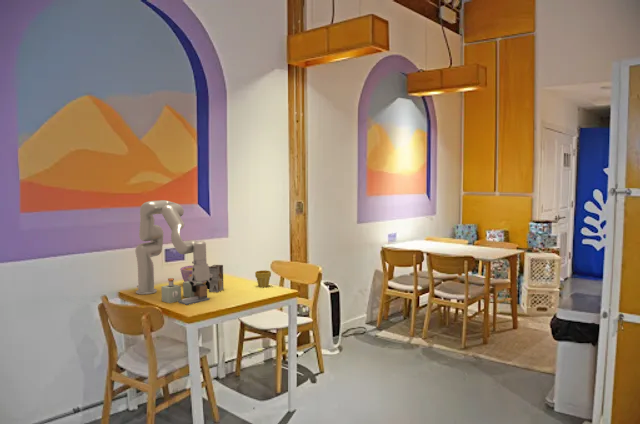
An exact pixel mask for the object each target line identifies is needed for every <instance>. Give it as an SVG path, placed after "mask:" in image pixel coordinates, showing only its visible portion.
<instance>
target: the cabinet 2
mask: <svg viewBox="0 0 640 424" xmlns="http://www.w3.org/2000/svg"><path fill="white" fill-rule="evenodd" d="M197 284H202V282H197V283H196V285H197ZM182 291H183V292H182V296H183V297H184V298H190V297H194V292H192V285H191V284H190V283H189V281H187V282H184V281H183V282H182Z"/></svg>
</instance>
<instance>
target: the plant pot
mask: <svg viewBox="0 0 640 424" xmlns="http://www.w3.org/2000/svg"><path fill="white" fill-rule="evenodd" d="M254 273H255V275H254V276H255V278H256V281H257V286H258V287H259V288H266V287H267V288H268V287H269V284H270V278H271V276H272V271H271V270H267V269H266V270H263V269H262V270H258V271H255V272H254Z"/></svg>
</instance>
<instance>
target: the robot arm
mask: <svg viewBox="0 0 640 424" xmlns="http://www.w3.org/2000/svg"><path fill="white" fill-rule="evenodd" d="M184 213H185V210H184V207H183V205H181V204H180V203H176V202H174V201H170V200H164V199H160V200H149V201H145V202H144V203H142V204H141V206H140V208H139V217H140V221H139V233H138V234H139V235H138V237H139V240H140V241H142V243H139V244H138V245H137V246H136V248H135V256H136V262H137V283H138V285H137V286H136V288H137V290H135V293H136V294H137V295H152V294H156V293H157V291H158V290H157V289H156V288H155V277H154V276H155V275H154V274H155V270H154V269H155V268H154V262H153V260H152V257H153V258H154V257H157V256H160V255H161V253H162V251H163V244H164V230H163V228H162V226H160V225H158V224H155V217H154V215H162V216H163V218H164V220H165V222H166V223H167V225H168V226H169V229H170V230H171V236H170V237H171V238H170V239H171V243H172V245H173V247H174V248H175V251H176V252H177V253H178V254H179V255H187V254H193V257H192V259H193V261H192V265H193V268H192V276H191V277H190V278H188V281H189V283H190V284H191V285H192V292H196V283H197V282H202V281H206V282H205V284H204V285H207V290H209V289H210V282H211V280H212V276H213V274H210V273H209V267H208V266H209V264H208V263H207V243H206V242H205V241H202V240H200V241H199V240H196V239H195V240H194V239H192V240H183V239H182V236H181V230H183V229H184V227H185V223H184V221H183V219H182V217H183V215H184ZM191 280H192V281H191Z"/></svg>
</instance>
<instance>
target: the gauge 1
mask: <svg viewBox="0 0 640 424" xmlns="http://www.w3.org/2000/svg"><path fill="white" fill-rule="evenodd" d="M167 281H168V285H169V287H174V285H175V284H174V283H175V282H174V281H175V278H173V277H172V278H171V277H170V278H167Z"/></svg>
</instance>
